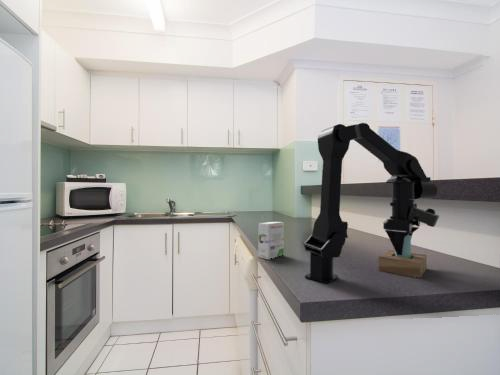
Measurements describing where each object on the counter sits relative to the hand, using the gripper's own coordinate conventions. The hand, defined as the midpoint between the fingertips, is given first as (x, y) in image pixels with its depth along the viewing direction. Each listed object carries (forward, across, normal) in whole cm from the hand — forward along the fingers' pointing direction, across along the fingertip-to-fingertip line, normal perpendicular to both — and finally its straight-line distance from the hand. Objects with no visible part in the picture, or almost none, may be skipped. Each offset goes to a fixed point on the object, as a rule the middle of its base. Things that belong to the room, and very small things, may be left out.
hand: (402, 252), depth 74 cm
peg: (+5, 0, 0) cm, 5 cm away
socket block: (+5, 0, 0) cm, 5 cm away
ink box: (+5, -15, +37) cm, 40 cm away
